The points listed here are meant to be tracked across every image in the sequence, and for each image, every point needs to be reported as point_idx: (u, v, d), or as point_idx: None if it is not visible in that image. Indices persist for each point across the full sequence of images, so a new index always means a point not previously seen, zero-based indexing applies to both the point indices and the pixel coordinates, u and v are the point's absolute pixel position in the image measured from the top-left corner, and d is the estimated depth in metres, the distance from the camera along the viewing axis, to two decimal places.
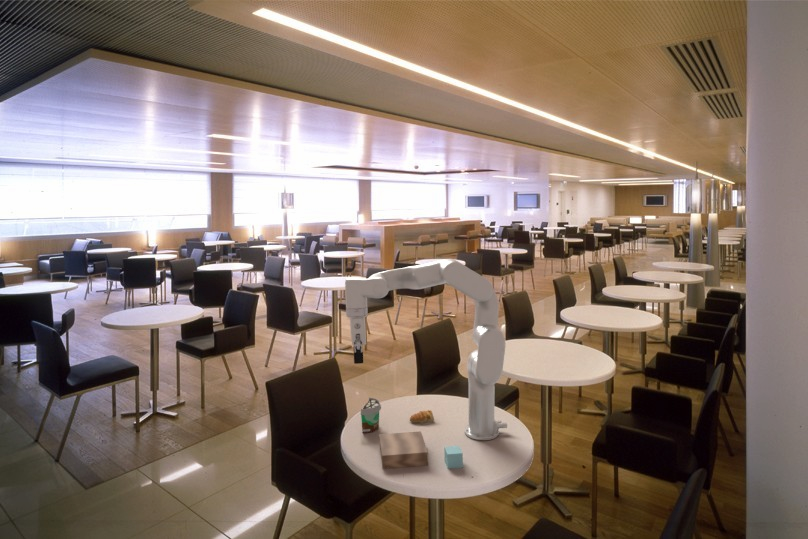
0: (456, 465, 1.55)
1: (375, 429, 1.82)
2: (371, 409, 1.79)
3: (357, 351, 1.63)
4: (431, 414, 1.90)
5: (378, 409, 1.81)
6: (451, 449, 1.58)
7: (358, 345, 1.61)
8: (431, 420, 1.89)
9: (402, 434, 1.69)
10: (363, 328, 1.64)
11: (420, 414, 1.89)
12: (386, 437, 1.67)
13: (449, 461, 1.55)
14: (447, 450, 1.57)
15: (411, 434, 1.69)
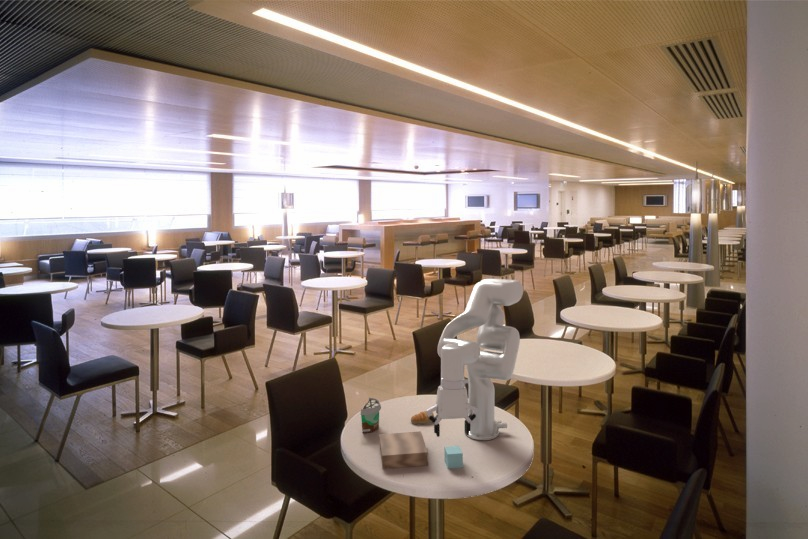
0: (456, 465, 1.55)
1: (375, 429, 1.82)
2: (371, 409, 1.79)
3: None
4: (432, 415, 1.89)
5: (378, 409, 1.81)
6: (451, 449, 1.58)
7: None
8: None
9: (402, 434, 1.69)
10: None
11: (421, 415, 1.89)
12: (386, 437, 1.67)
13: (449, 461, 1.55)
14: (447, 450, 1.57)
15: (411, 434, 1.69)
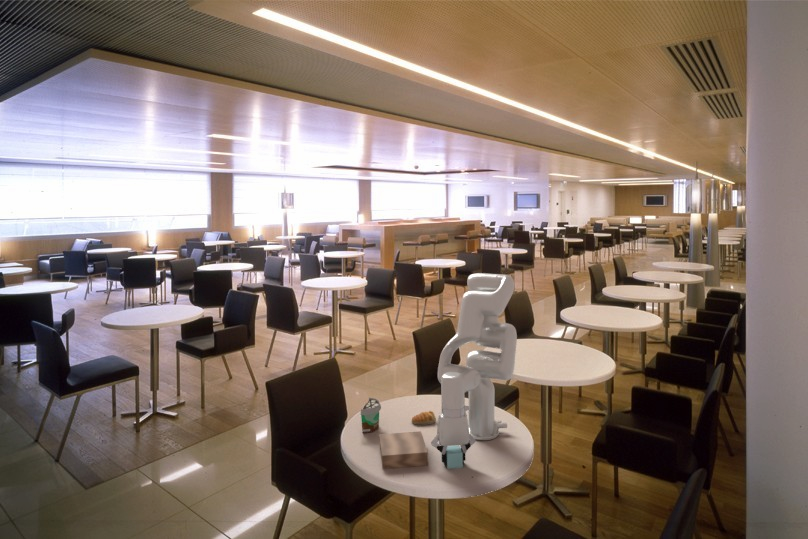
0: (456, 465, 1.55)
1: (375, 429, 1.82)
2: (371, 409, 1.79)
3: None
4: (433, 415, 1.89)
5: (378, 409, 1.81)
6: (451, 449, 1.57)
7: None
8: (433, 421, 1.88)
9: (402, 434, 1.69)
10: None
11: (422, 415, 1.88)
12: (386, 437, 1.67)
13: (449, 461, 1.55)
14: (447, 450, 1.57)
15: (411, 434, 1.69)
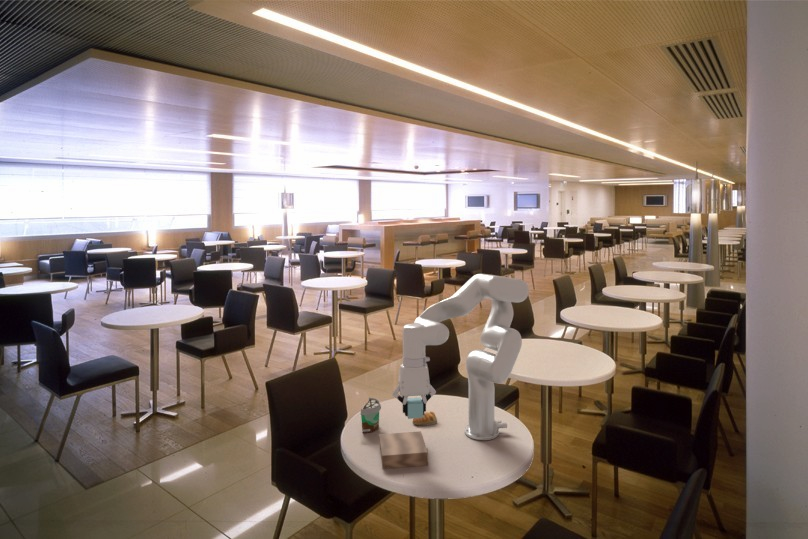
0: (417, 415, 1.58)
1: (375, 429, 1.82)
2: (371, 409, 1.79)
3: None
4: (434, 415, 1.88)
5: (378, 409, 1.81)
6: (412, 400, 1.60)
7: None
8: (434, 421, 1.87)
9: (402, 434, 1.69)
10: None
11: (423, 416, 1.88)
12: (386, 437, 1.67)
13: (410, 411, 1.57)
14: (408, 401, 1.59)
15: (411, 434, 1.69)
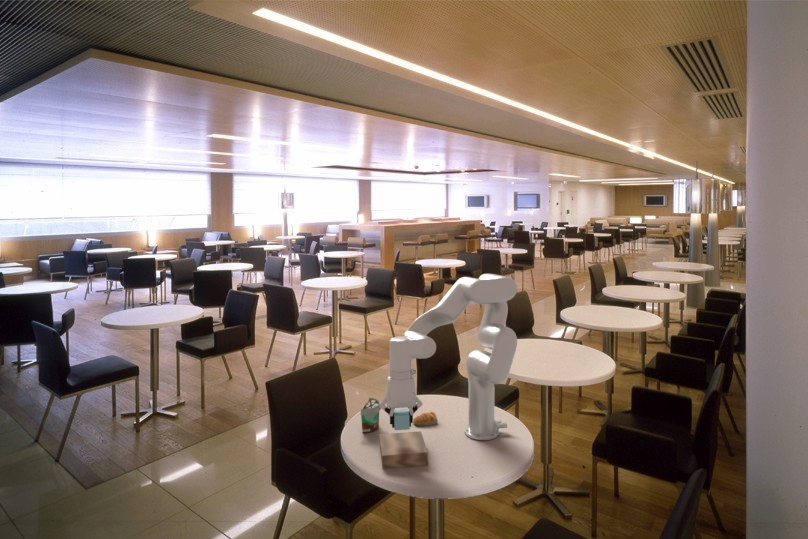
0: (403, 427, 1.60)
1: (375, 429, 1.82)
2: (371, 409, 1.79)
3: None
4: (434, 416, 1.88)
5: (378, 409, 1.81)
6: (399, 412, 1.62)
7: None
8: (435, 422, 1.87)
9: (402, 434, 1.69)
10: None
11: (423, 416, 1.87)
12: (386, 437, 1.67)
13: (396, 422, 1.60)
14: (395, 412, 1.62)
15: (411, 434, 1.69)
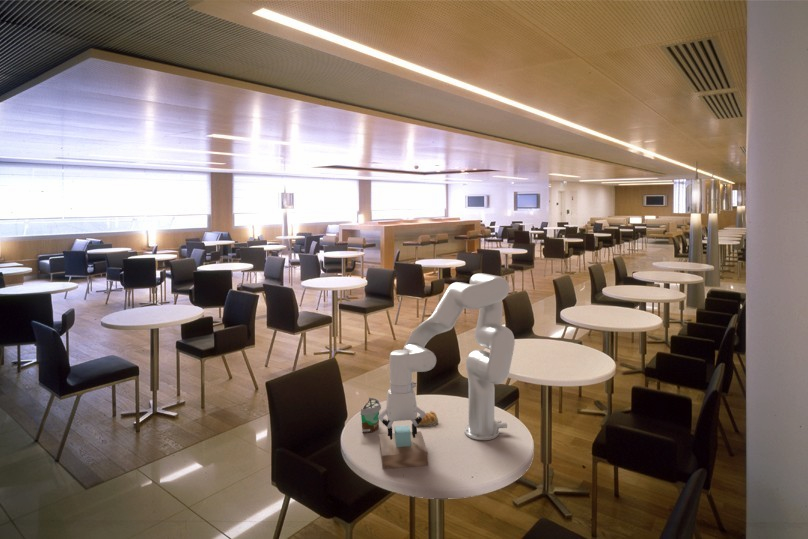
0: (404, 443, 1.61)
1: (375, 429, 1.82)
2: (371, 409, 1.79)
3: None
4: (435, 416, 1.88)
5: (378, 409, 1.81)
6: (401, 428, 1.63)
7: None
8: (435, 422, 1.87)
9: None
10: None
11: None
12: (386, 437, 1.67)
13: (398, 439, 1.60)
14: (396, 429, 1.63)
15: (411, 434, 1.69)
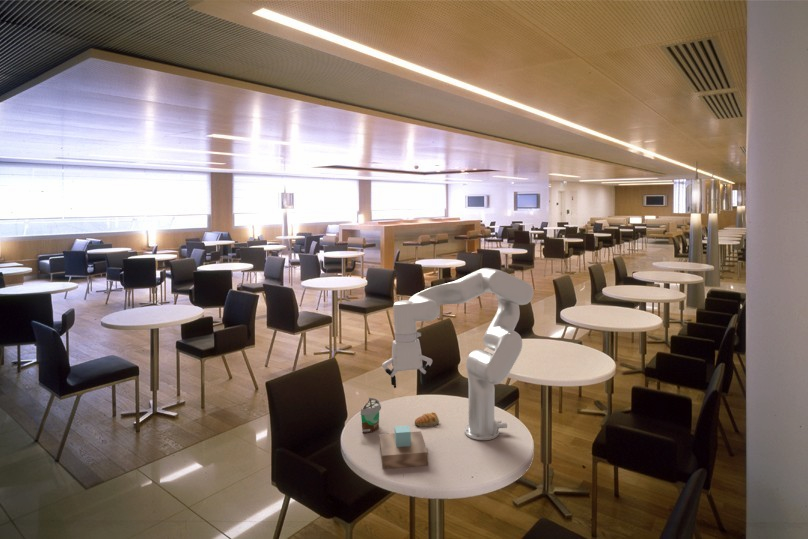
0: (404, 443, 1.61)
1: (375, 429, 1.82)
2: (371, 409, 1.79)
3: None
4: (436, 416, 1.88)
5: (378, 409, 1.81)
6: (401, 428, 1.63)
7: None
8: (436, 422, 1.87)
9: None
10: None
11: (425, 417, 1.87)
12: (386, 437, 1.67)
13: (398, 439, 1.60)
14: (396, 429, 1.63)
15: (411, 434, 1.69)
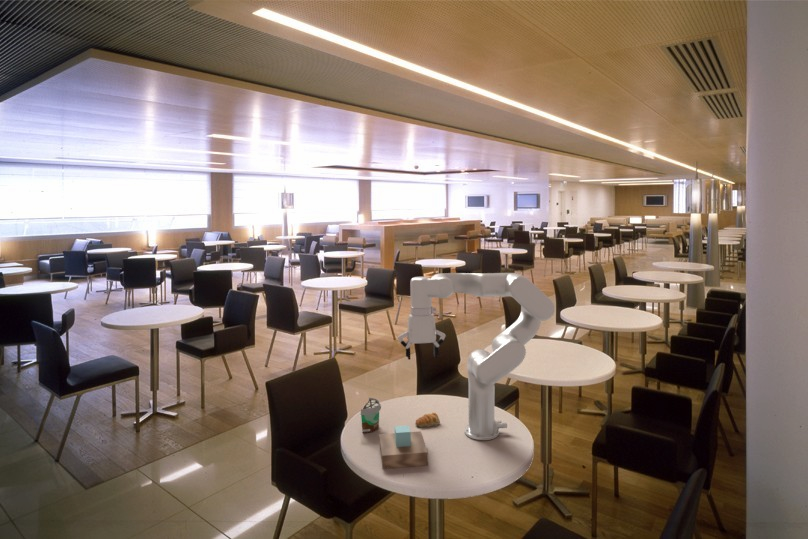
0: (404, 443, 1.61)
1: (375, 429, 1.82)
2: (371, 409, 1.79)
3: None
4: (437, 417, 1.87)
5: (378, 409, 1.81)
6: (401, 428, 1.63)
7: None
8: (437, 423, 1.86)
9: None
10: None
11: (426, 417, 1.86)
12: (386, 437, 1.67)
13: (398, 439, 1.60)
14: (396, 429, 1.63)
15: (411, 434, 1.69)
